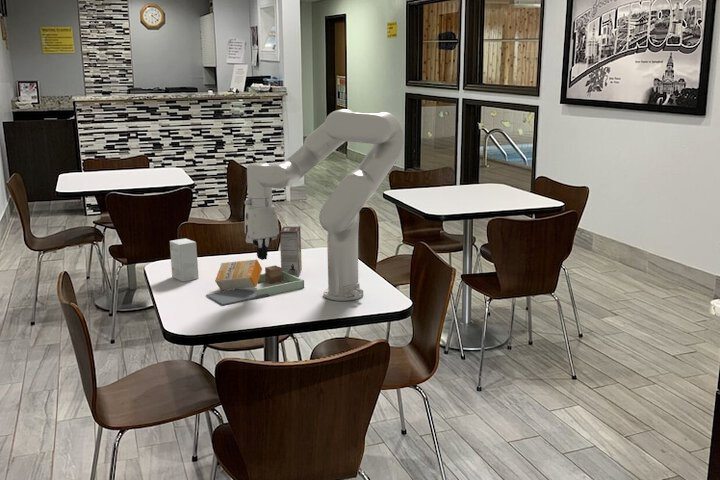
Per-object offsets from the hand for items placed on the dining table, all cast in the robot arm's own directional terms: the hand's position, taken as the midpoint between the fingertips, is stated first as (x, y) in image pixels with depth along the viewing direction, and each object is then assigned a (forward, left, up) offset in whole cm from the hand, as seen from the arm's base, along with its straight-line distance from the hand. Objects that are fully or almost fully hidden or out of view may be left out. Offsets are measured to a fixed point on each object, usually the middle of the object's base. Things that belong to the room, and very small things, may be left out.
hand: (262, 258), depth 229 cm
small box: (+30, +14, -11) cm, 35 cm away
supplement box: (+1, +1, -5) cm, 5 cm away
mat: (0, +9, -11) cm, 14 cm away
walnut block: (+7, -8, -11) cm, 15 cm away
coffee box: (+12, -18, -11) cm, 24 cm away
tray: (+2, -4, -11) cm, 12 cm away
